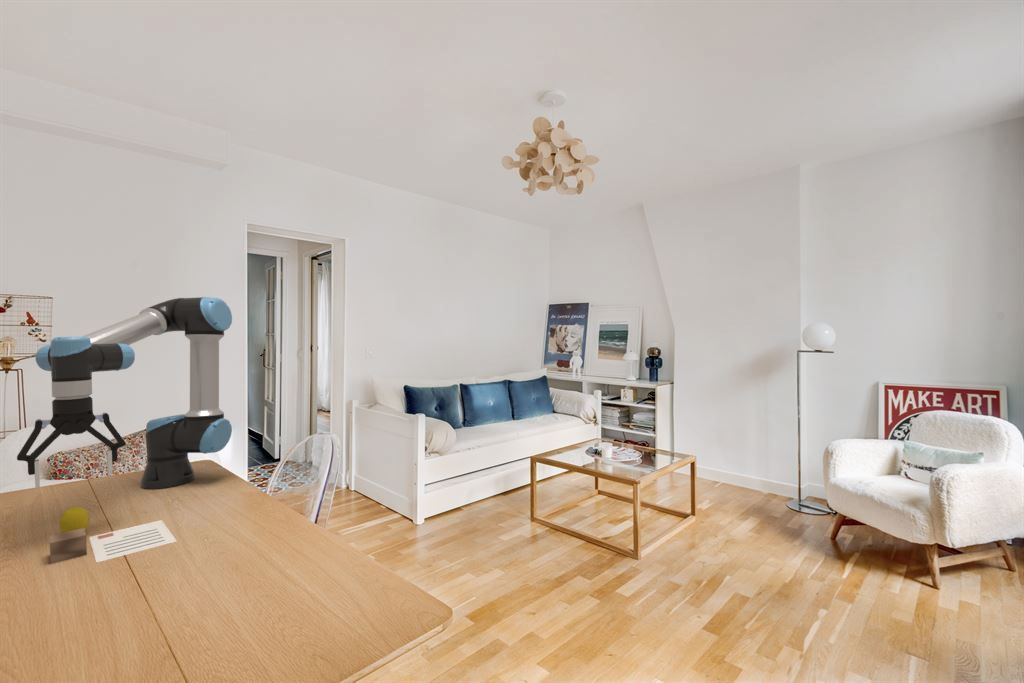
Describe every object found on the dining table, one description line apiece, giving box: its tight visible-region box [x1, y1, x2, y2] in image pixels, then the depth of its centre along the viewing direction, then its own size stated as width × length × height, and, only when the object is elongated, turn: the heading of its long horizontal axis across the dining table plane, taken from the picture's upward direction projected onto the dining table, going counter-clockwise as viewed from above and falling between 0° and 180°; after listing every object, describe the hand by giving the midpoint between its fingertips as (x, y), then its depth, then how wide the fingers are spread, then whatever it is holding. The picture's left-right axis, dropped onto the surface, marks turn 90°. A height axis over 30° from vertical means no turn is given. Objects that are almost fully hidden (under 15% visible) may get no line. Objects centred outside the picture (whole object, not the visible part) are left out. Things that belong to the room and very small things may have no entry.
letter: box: [89, 519, 177, 563], centre depth 119 cm, size 15×20×1 cm
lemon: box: [59, 505, 90, 533], centre depth 121 cm, size 6×6×8 cm
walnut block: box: [49, 528, 88, 565], centre depth 111 cm, size 6×6×5 cm
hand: (75, 480), depth 121 cm, fingers open, 13 cm apart
